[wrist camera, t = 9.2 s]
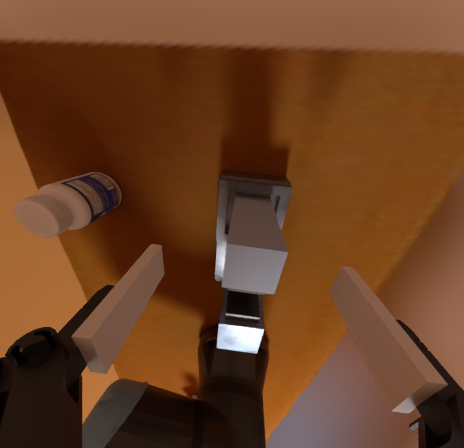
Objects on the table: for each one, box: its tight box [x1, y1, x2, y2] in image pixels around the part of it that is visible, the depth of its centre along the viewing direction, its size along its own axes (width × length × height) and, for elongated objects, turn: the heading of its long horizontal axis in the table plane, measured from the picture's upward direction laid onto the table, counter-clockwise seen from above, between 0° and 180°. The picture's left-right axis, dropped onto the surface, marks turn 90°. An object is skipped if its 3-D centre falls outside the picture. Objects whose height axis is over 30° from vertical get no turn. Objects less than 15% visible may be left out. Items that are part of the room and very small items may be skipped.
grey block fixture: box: [215, 170, 292, 354], centre depth 20 cm, size 16×8×12 cm, turn 175°
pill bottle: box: [14, 172, 122, 238], centre depth 20 cm, size 5×5×9 cm
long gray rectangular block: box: [222, 194, 288, 295], centre depth 17 cm, size 5×4×10 cm
